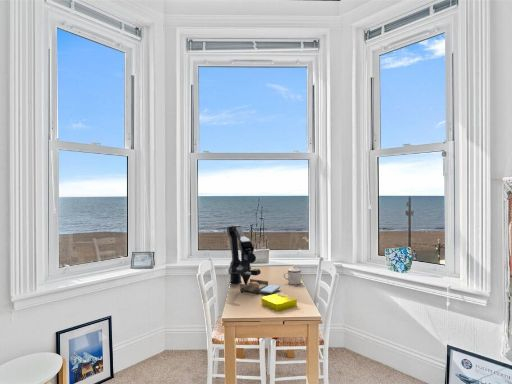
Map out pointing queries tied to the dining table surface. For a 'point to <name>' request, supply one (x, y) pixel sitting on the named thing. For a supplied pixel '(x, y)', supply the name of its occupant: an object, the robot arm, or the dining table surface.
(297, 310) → the dining table surface
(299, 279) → the teacup with lid
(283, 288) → the dining table surface
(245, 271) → the robot arm
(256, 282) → the cube with rounded ends
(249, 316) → the dining table surface
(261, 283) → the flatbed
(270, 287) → the tailgate
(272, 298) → the element tile
